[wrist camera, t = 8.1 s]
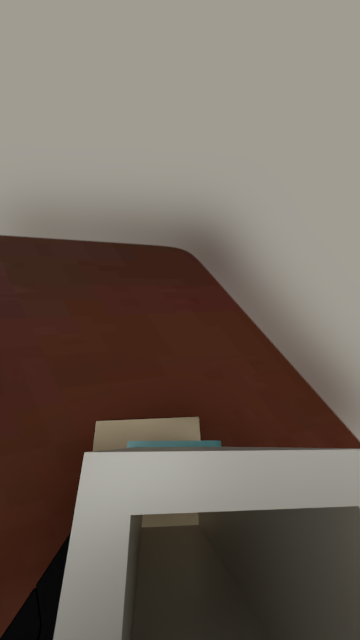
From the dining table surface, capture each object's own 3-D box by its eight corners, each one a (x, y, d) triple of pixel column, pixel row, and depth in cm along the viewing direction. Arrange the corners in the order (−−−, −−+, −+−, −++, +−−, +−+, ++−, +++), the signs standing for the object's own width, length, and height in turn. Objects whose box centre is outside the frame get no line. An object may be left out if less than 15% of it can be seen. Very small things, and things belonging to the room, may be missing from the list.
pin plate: (205, 543, 18) (220, 570, 14) (85, 556, 17) (65, 591, 13) (195, 418, 22) (205, 412, 18) (99, 422, 21) (87, 417, 17)
